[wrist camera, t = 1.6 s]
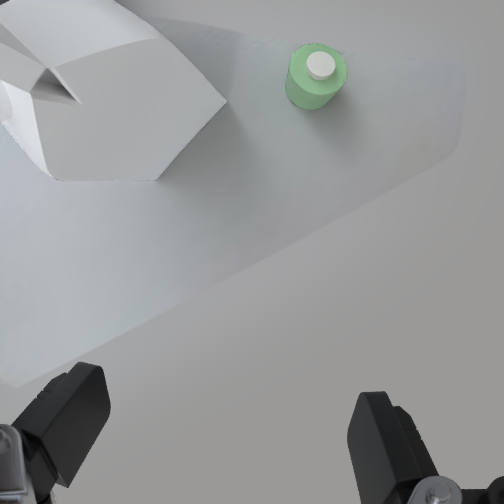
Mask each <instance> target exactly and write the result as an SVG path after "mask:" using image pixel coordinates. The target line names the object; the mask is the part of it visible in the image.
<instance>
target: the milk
mask: <svg viewBox="0 0 504 504" xmlns="http://www.w3.org/2000/svg"><path fill="white" fill-rule="evenodd" d="M226 103H227V101H226V100H225V99H224V98H223V97H222V96H221V94H220V93H219V92H218V91H217V90H216V89H215V88H214V87H213V86H212V84H211V83H210V82H209V81H208V80H207V79H206V78H205V77H204V76H203V75H202V74H201V72H200V71H199V70H198V69H197V68H196V67H195V66H194V65H193V64H192V63H191V62H190V61H189V60H188V59H187V58H186V56H185V55H184V54H183V53H182V52H181V51H180V50H179V49H178V48H177V47H176V46H175V45H174V44H173V43H172V42H171V41H169V40H168V39H167V38H166V37H165V36H163V35H162V34H161V33H160V32H158V31H157V30H156V29H155V28H153V27H152V26H151V25H150V24H148V23H147V22H145V21H144V20H142V19H141V18H139V17H138V16H137V15H135V14H134V13H132V12H130V11H129V10H127V9H126V8H124V7H123V6H121V5H120V4H118V3H116V2H115V1H113V0H9V1H8V2H6V3H4V4H2V5H0V124H1V123H2V124H3V125H4V127H5V128H6V129H7V130H8V132H9V133H10V134H11V135H12V137H13V138H14V139H15V140H16V142H17V143H18V144H19V145H20V147H21V148H22V149H23V150H24V151H25V153H26V154H27V155H28V156H29V157H30V159H31V160H32V161H33V162H34V163H35V165H36V166H37V167H38V168H39V169H41V170H42V171H44V172H45V173H47V174H48V175H50V176H51V177H53V178H54V179H56V180H59V181H94V180H135V181H156V180H157V179H158V178H159V176H160V175H161V174H162V173H163V172H164V171H165V169H166V168H167V167H168V166H169V165H170V163H171V162H172V161H173V160H174V159H175V158H176V157H177V155H178V154H179V153H180V152H181V151H182V150H183V149H184V147H185V146H186V145H187V144H188V143H189V142H190V141H191V140H192V139H193V138H194V136H195V135H196V134H197V133H198V132H199V131H200V130H201V129H202V128H203V127H204V126H205V125H206V123H207V122H208V121H209V120H210V119H211V118H212V117H213V116H214V115H215V114H216V113H217V112H218V111H219V110H220V109H221V108H222V107H223V106H224V105H225V104H226Z"/></svg>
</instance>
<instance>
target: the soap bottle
mask: <svg viewBox="0 0 504 504" xmlns="http://www.w3.org/2000/svg"><path fill="white" fill-rule="evenodd" d="M346 78H347V66H346V63H345V61H344V59H343V57H342V56H341V55H340V54H339V53H338V52H337V51H336V50H335V49H333V48H331V47H329V46H327V45H324V44H317V43H316V44H308V45H305V46H302V47H301V48H299V49H298V50H297V51H296V52H295V53H294V54H293V56H292V58H291V61H290V65H289V70H288V75H287V80H286V86H285V88H286V93H287V96H288V97H289V99H290V100H291V101H292V102H293V103H294V104H295V105H296V106H298V107H300V108H303V109H307V110H314V109H318V108H321V107H323V106H324V105H325V104H327V102H328V101H329V100H330V99H331V98H332V97H333V96H334V95H335V94H336V92H337V91H338V90H339V89H340V88H341V87H342V86H343V84H344V83H345V81H346Z"/></svg>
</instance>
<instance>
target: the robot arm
mask: <svg viewBox="0 0 504 504" xmlns="http://www.w3.org/2000/svg"><path fill="white" fill-rule="evenodd" d="M8 1H9V0H0V5H2V4H4V3H6V2H8ZM110 406H111V405H110V399H109V394H108V390H107V385H106V381H105V376H104V372H103V369H102V367H100V366H97V365H93V364H88V363H84V362H78V363H77V364H76V365H75V366H74V367H73V368H72V369H71V370H70V372H68V373H63V374H61V375H59V376H57V377H55V378H54V379H52V380H51V381H50V382H49V383H48V384H47V385H46V387H45V388H44V390H43V391H41V392H40V393H39V394H38V395H37V398H35V399H34V400H33V401H32V402H31V403H30V404H29V405H28V407H27V408H26V409H25V410H24V411H23V412H22V413H21V415H19V417H18V418H17V419H16V420H15V421H14V422H13V424H12V425H11V426H10V425H6V424H0V504H56V500H55V496H54V493H53V491H52V488H53V486H54V484H55V483H57V484H59V485H62V486H64V487H67V488H69V486H70V484H71V482H72V480H73V478H74V477H75V475H76V473H77V471H78V470H79V468H80V466H81V465H82V463H83V461H84V459H85V458H86V456H87V454H88V452H89V451H90V449H91V447H92V445H93V444H94V442H95V440H96V438H97V437H98V435H99V433H100V432H101V430H102V428H103V427H104V425H105V423H106V422H107V420H108V418H109V415H110V408H111V407H110ZM347 442H348V448H349V452H350V456H351V460H352V465H353V469H354V473H355V478H356V482H357V486H358V491H359V495H360V499H361V504H504V476H502V477H499V478H497V479H495V480H494V481H493V482H492V483H491V484H490V486H489V487H488V488H487V489H460V487H459V486H458V485H457V483H455V482H454V481H453V480H451V479H449V478H447V477H443V476H439V474H438V472H437V470H436V468H435V465H434V463H433V461H432V459H431V457H430V455H429V453H428V451H427V448H426V446H425V444H424V442H423V441H422V440H421V436H420V434H419V432H418V430H416V426H415V424H414V422H413V420H412V418H411V416H410V415H409V414H408V413H407V412H406V411H404V410H403V409H402V408H401V407H400V406H395V407H393V406H392V404H391V401H390V399H389V397H388V395H387V393H386V392H384V391H381V392H362V393H360V395H359V397H358V400H357V403H356V406H355V409H354V413H353V415H352V418H351V421H350V424H349V428H348V434H347Z"/></svg>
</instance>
